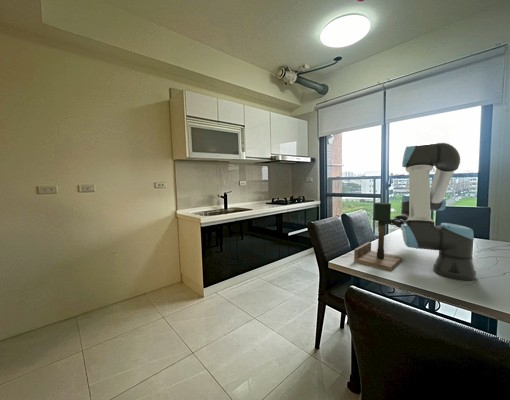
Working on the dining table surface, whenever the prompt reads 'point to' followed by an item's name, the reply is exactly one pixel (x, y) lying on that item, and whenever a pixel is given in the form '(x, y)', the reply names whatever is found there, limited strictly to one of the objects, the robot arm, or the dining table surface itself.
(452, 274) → the robot arm
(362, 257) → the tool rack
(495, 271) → the dining table surface
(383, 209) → the stick grenade
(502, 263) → the dining table surface
